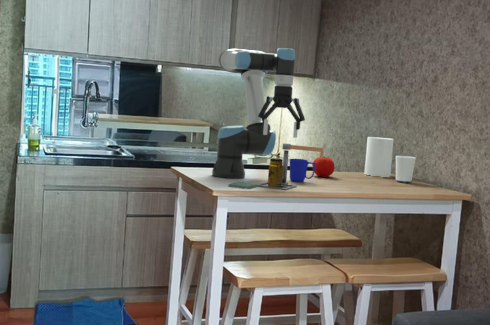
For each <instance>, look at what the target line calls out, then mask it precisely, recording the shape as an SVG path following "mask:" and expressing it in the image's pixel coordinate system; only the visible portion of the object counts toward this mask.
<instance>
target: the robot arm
mask: <svg viewBox="0 0 490 325" xmlns="http://www.w3.org/2000/svg"><path fill="white" fill-rule="evenodd" d="M276 51H277V52H276V53H269V52H267V53H266V52H263V51H261V50H256V49H255V50H251V49H250V50H249V49H240V48H230V49H226V50H224V51H222V52H221V53H220V55H219V58H218V64H219V66H220V68H221V69H223V70H224V71H226V72H228V73H230V74H231V73H232V74H240V77H241V79H242V81H244V87H245V89H244V90H245V97H246V98H245V99H246V110H247V111H246V112H247V122H248V124H247V125H246V126H244V125H228V126H227V125H226V126H222V127H220V128H219V129H218V130H219V131H218V135H217V154H216V161H215V162H214V166H213V168H212V171H211V176H213V175H214V176H213V177H216V176H218V177H217V178H223V177H227V178H226V179H244V178H245V177H246V171H245V166H244V163H243V155H255V156H256V155H257V156H267V155H270V154H272V153H273V151H274V149H275V145H276V139H277V137H276V136H277V134H276V131H275V130H273V129H271V125H270V124H269V119H268V118H269V116H270V115H271V114H272V113H273V112H274V111H275V110H276V109H278V108H279V109H281V108H282V109H287V110H288V111H289V113H290V114H291V116H292V117H293V119H294V122H293V132H292V133H293V134H292V135H293V136H292V138H295V139H296V138H298V130H300V128H301V123H302V122H304V121H306V118H305V115H304V113H303V110H302V108H301V105H300V98H298V97H295V98H293V97H292V96H293V84H294V74H295V72H294V71H295V60H296V51H295V49H293V48H286V47H285V48H284V47H279V48H277V50H276ZM268 72H272V73H275V77H274V78H275V79H274V84H275V85H274V92H273V96H270V95H268V96H267V95H266V98H265V94H264V93H265V92H264V83H263V79H264V78H266V75H267V74H268ZM265 99H266V100H265ZM271 102H273V104H272V105H271V107H270V108H269V106H270V104H271ZM292 103H293V104H294V107H295V109H294V108H293V106H292V105H291V104H292Z"/></svg>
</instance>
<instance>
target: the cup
mask: <svg viewBox="0 0 490 325" xmlns="http://www.w3.org/2000/svg"><path fill="white" fill-rule="evenodd" d="M416 160H417V158H416V157H415V156H410V155H409V156H408V155H395V180H396V182H397V183H403V184H406V183H407V182H408V183H407V184H411V183H412V180H413V175H414V169H415V165H416V164H415V163H416Z"/></svg>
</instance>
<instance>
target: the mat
mask: <svg viewBox="0 0 490 325" xmlns="http://www.w3.org/2000/svg"><path fill="white" fill-rule="evenodd" d="M258 184H259V183H250V182H243V181H235V182H232V183H228V185H227V187H229V186H233V187H232V188H237V187H239V188H238V189H244V188H247V190H250V189H253V188H259V187H258Z"/></svg>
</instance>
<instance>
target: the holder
mask: <svg viewBox="0 0 490 325" xmlns="http://www.w3.org/2000/svg"><path fill="white" fill-rule="evenodd" d="M257 184H258V187H257V188H259V187H260V188H267V189H273V190H281V191H288V190H290V189H294V188H297V187H298V185H295V184H293V185H292V184H288V185H287V184H282V186H286V187H282V188H277V187H269V186H267V185H268V181H266V182H263V183H257ZM265 185H266V186H265Z"/></svg>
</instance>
